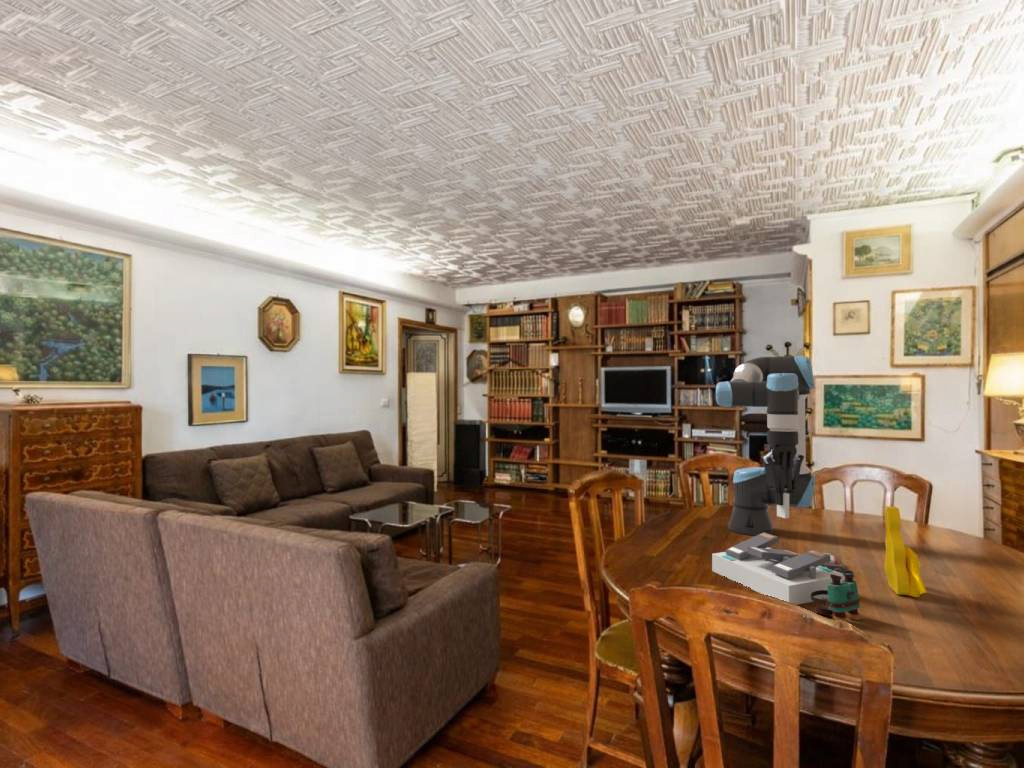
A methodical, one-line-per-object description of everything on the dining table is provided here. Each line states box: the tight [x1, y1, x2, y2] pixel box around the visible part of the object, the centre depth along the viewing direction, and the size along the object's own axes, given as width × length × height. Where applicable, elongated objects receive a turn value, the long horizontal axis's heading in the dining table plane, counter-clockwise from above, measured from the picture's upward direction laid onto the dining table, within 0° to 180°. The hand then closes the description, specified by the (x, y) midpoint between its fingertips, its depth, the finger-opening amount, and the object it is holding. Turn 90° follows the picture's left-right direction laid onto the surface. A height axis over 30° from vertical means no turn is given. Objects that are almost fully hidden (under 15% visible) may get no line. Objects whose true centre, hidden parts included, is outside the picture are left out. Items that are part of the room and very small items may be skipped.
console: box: [711, 540, 845, 606], centre depth 140 cm, size 20×26×8 cm
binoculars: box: [811, 569, 861, 622], centre depth 120 cm, size 9×11×10 cm
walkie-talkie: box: [820, 552, 847, 574], centre depth 148 cm, size 9×4×20 cm
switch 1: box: [724, 532, 780, 560], centre depth 148 cm, size 15×5×2 cm, turn 111°
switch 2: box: [747, 547, 801, 560], centre depth 140 cm, size 15×5×2 cm, turn 110°
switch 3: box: [771, 549, 831, 579], centre depth 133 cm, size 15×5×2 cm, turn 111°
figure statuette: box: [883, 506, 928, 598], centre depth 133 cm, size 18×8×22 cm, turn 160°
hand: (783, 516), depth 139 cm, fingers closed
